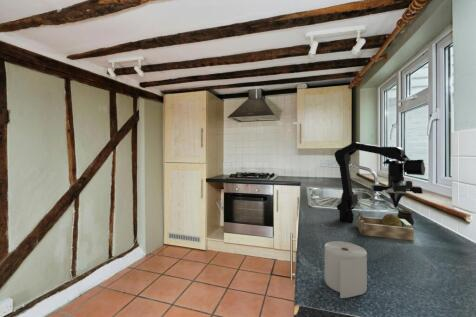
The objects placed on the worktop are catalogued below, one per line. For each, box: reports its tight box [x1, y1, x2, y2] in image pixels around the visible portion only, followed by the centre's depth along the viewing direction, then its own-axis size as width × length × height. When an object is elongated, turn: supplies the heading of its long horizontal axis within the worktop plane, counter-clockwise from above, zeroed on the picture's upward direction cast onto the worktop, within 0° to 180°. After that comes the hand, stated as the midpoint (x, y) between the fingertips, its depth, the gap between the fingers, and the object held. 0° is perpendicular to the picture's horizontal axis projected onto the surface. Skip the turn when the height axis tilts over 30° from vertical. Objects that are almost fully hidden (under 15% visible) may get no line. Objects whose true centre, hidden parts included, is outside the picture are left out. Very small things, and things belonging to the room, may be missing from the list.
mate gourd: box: [395, 206, 415, 227], centre depth 111 cm, size 7×8×10 cm
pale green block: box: [400, 219, 413, 228], centre depth 99 cm, size 2×10×6 cm, turn 158°
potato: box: [382, 213, 403, 227], centre depth 102 cm, size 8×13×8 cm, turn 140°
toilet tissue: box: [323, 240, 368, 299], centre depth 61 cm, size 11×12×10 cm
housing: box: [356, 211, 415, 241], centre depth 103 cm, size 20×13×8 cm
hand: (395, 207), depth 102 cm, fingers closed
